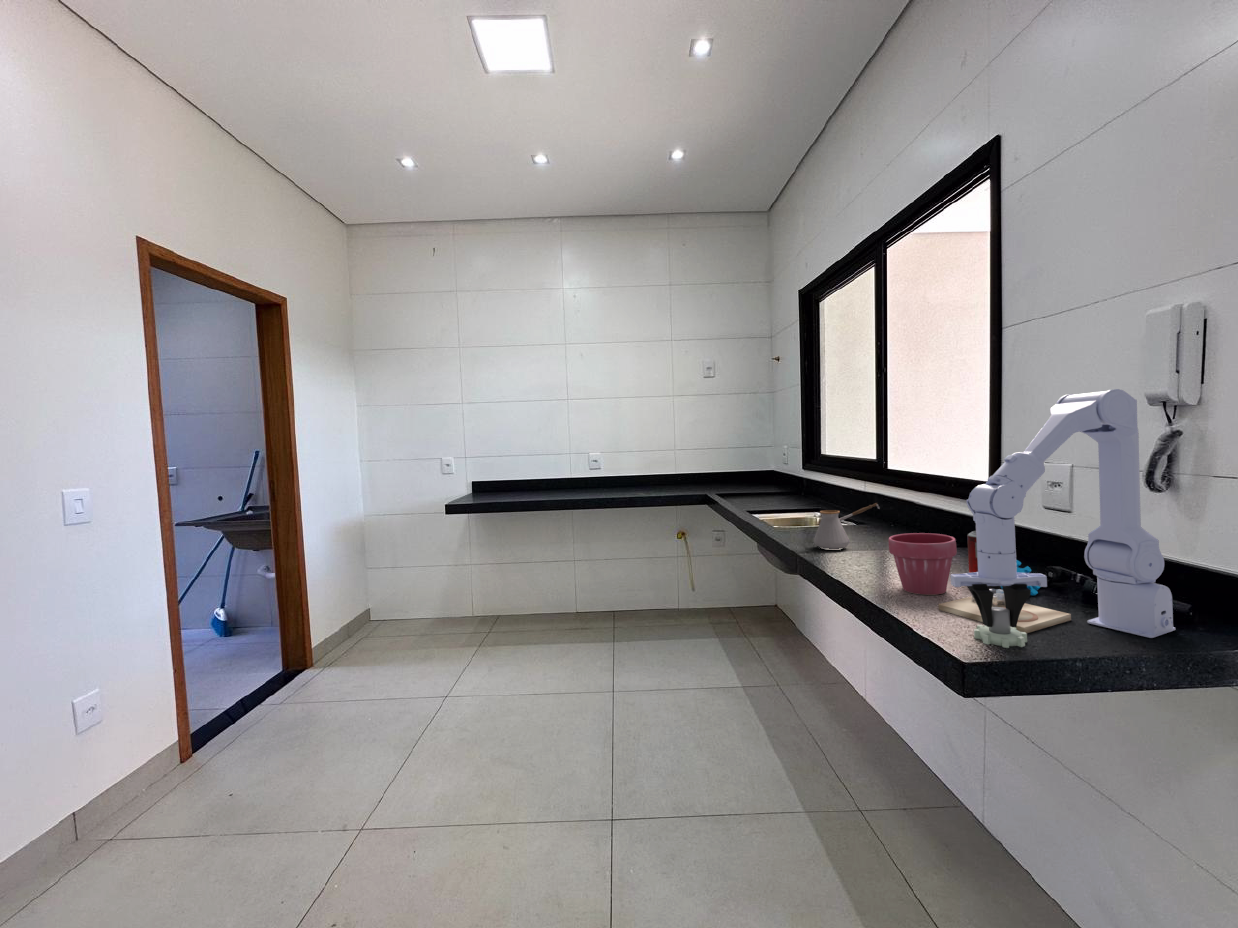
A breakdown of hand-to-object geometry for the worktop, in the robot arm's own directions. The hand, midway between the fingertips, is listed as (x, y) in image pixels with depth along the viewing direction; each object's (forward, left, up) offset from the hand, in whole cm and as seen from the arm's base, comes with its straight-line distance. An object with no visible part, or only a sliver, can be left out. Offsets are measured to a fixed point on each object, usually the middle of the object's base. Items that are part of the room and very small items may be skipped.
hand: (999, 625), depth 95 cm
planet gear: (0, 0, -3) cm, 3 cm away
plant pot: (+28, -16, -3) cm, 32 cm away
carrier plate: (+8, -13, -3) cm, 15 cm away
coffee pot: (+74, -38, -3) cm, 83 cm away
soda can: (+25, -34, -3) cm, 42 cm away
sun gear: (+12, -16, -1) cm, 20 cm away
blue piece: (+15, -30, -3) cm, 34 cm away
